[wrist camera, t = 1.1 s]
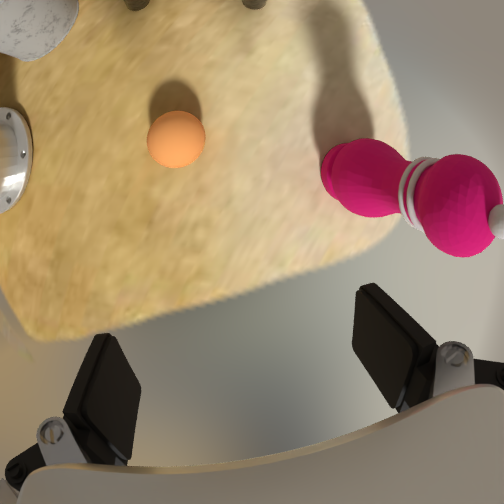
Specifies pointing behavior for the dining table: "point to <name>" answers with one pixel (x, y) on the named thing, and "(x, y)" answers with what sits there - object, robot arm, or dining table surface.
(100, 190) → the dining table surface
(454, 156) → the pepper mill
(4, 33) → the speckled stone cylinder
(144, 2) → the post
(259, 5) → the post
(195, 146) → the ball
